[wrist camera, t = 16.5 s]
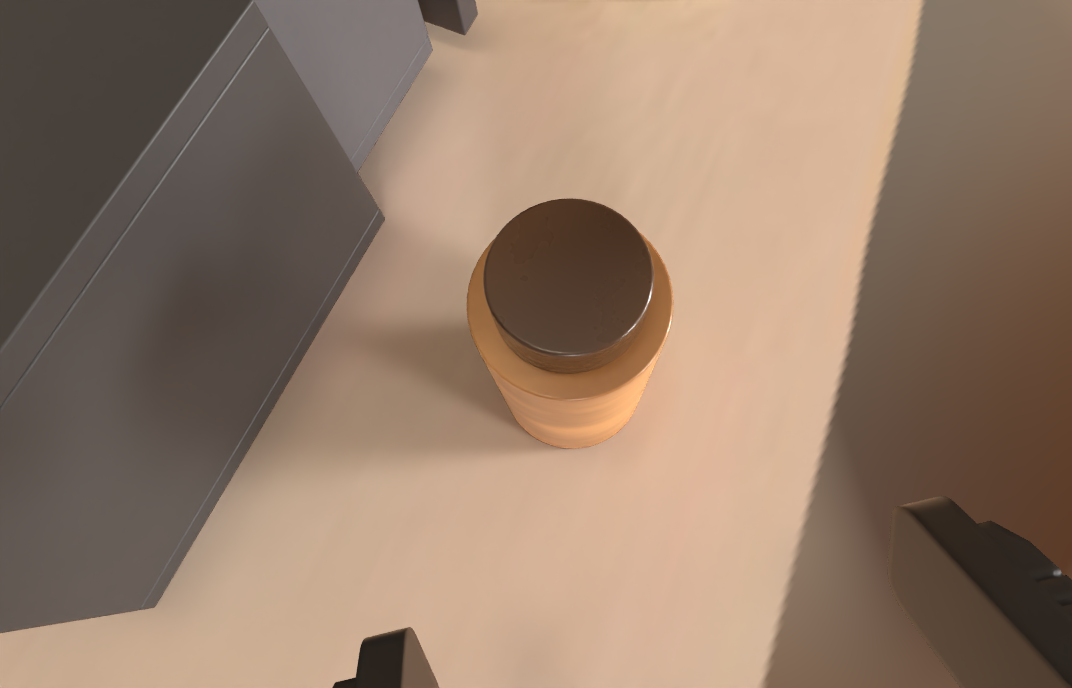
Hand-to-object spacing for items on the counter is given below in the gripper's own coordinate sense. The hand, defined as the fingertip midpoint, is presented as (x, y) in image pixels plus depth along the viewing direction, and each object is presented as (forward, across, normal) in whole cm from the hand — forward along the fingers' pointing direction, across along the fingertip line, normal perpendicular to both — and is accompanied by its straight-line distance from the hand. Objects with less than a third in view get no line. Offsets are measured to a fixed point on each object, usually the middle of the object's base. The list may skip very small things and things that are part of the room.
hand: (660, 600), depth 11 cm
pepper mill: (+12, 0, -3) cm, 12 cm away
